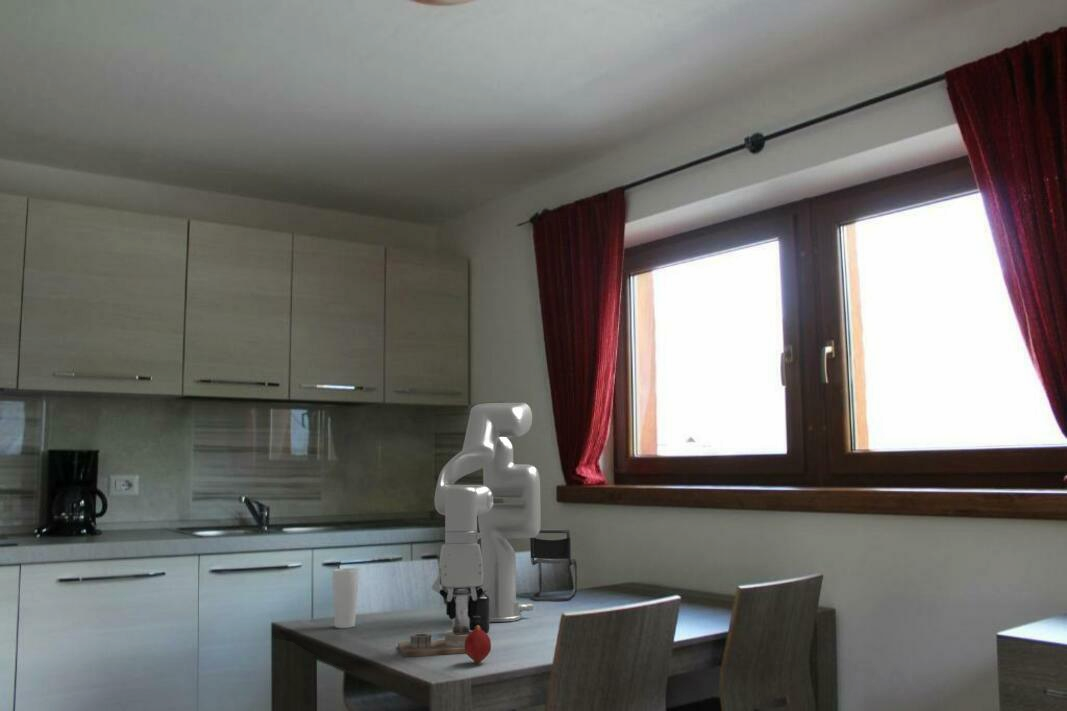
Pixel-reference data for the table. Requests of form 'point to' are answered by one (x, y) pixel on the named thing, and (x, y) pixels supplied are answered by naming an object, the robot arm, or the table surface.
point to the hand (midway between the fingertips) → (460, 616)
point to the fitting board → (434, 644)
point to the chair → (552, 551)
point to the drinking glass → (345, 596)
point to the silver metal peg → (461, 610)
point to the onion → (477, 645)
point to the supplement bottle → (481, 613)
